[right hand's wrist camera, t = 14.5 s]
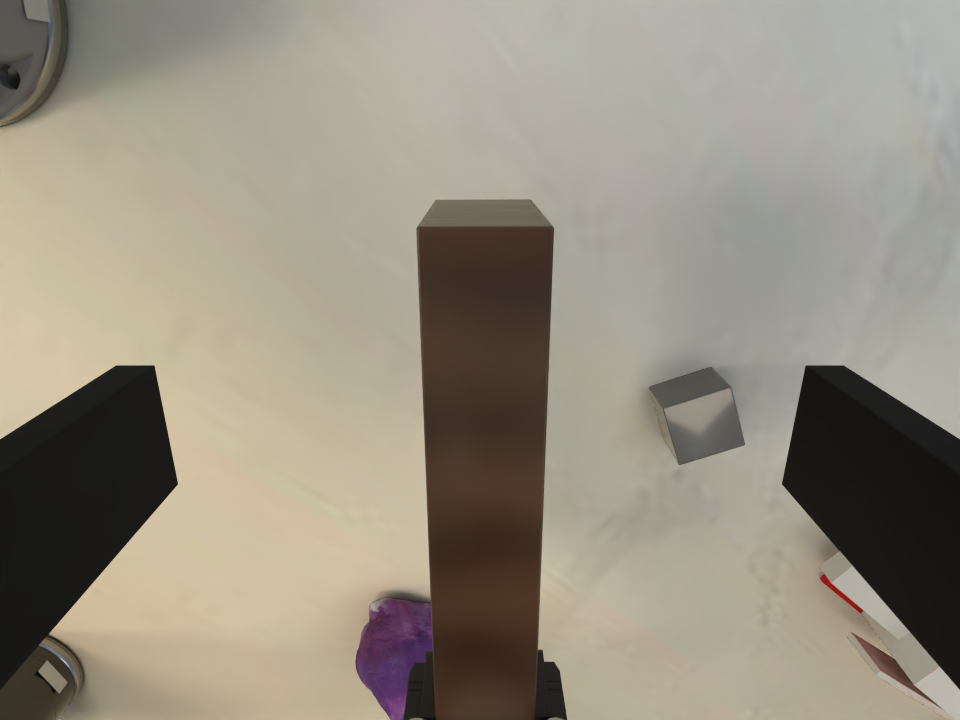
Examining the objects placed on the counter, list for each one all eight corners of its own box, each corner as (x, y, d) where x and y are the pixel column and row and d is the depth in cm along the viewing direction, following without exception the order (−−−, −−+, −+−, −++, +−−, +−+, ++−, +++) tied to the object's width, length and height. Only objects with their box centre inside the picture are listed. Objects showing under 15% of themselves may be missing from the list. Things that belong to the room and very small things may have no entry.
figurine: (461, 681, 58) (455, 857, 44) (355, 662, 57) (314, 835, 43) (484, 604, 55) (485, 766, 41) (372, 583, 54) (333, 741, 40)
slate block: (663, 440, 49) (678, 465, 45) (648, 386, 48) (662, 408, 44) (725, 421, 49) (745, 445, 45) (711, 366, 47) (731, 386, 43)
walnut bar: (520, 649, 33) (532, 798, 26) (447, 649, 33) (438, 798, 26) (531, 199, 25) (554, 226, 18) (434, 199, 25) (416, 226, 18)
